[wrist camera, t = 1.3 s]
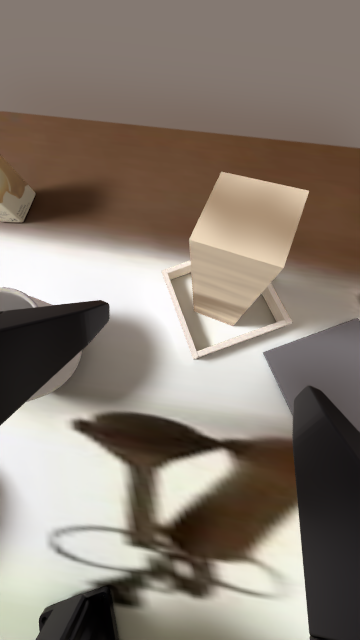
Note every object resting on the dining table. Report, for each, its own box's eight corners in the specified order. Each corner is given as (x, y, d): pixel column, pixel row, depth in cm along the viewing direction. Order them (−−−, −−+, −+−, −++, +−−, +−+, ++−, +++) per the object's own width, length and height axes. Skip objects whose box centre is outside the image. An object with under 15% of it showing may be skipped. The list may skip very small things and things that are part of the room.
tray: (284, 326, 21) (292, 322, 19) (193, 359, 21) (193, 358, 19) (243, 248, 24) (247, 239, 22) (163, 277, 24) (161, 270, 22)
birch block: (233, 326, 21) (283, 268, 9) (193, 311, 22) (189, 239, 10) (246, 289, 22) (309, 190, 10) (208, 277, 23) (221, 171, 11)
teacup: (110, 329, 23) (66, 310, 15) (66, 416, 21) (-12, 445, 13) (26, 293, 25) (-49, 261, 18) (-20, 367, 23) (-129, 367, 15)
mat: (422, 422, 17) (427, 423, 17) (314, 461, 17) (317, 463, 17) (354, 319, 20) (357, 318, 20) (262, 352, 20) (264, 352, 20)
